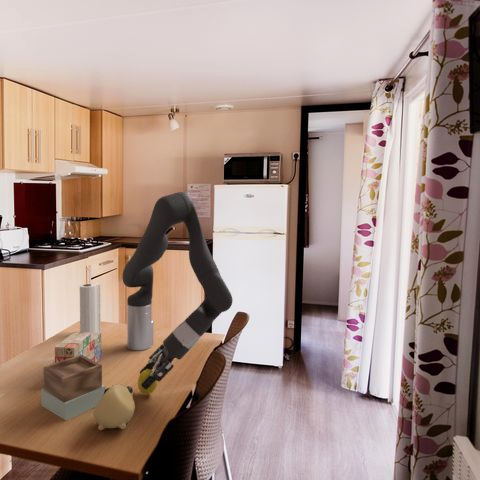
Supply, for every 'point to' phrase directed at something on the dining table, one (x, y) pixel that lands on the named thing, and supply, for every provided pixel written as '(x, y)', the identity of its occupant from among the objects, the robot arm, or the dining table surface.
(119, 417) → the cream pug plush toy
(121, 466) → the dining table surface
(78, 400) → the tower base
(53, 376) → the wooden box
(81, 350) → the stack of blocks
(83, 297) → the paper towel roll
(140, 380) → the lemon
